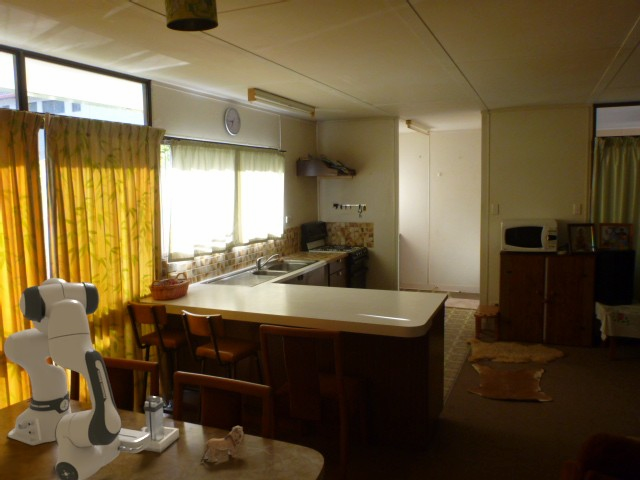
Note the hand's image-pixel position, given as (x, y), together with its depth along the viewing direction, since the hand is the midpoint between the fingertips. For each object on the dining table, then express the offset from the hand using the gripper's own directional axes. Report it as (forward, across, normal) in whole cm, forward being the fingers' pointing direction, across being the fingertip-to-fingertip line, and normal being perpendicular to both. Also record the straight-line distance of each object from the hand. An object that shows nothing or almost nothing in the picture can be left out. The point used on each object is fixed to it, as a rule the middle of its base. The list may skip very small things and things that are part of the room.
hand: (133, 427), depth 169 cm
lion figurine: (+8, -28, +10) cm, 30 cm away
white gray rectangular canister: (+12, -1, +9) cm, 15 cm away
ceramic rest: (+12, -1, +10) cm, 15 cm away
